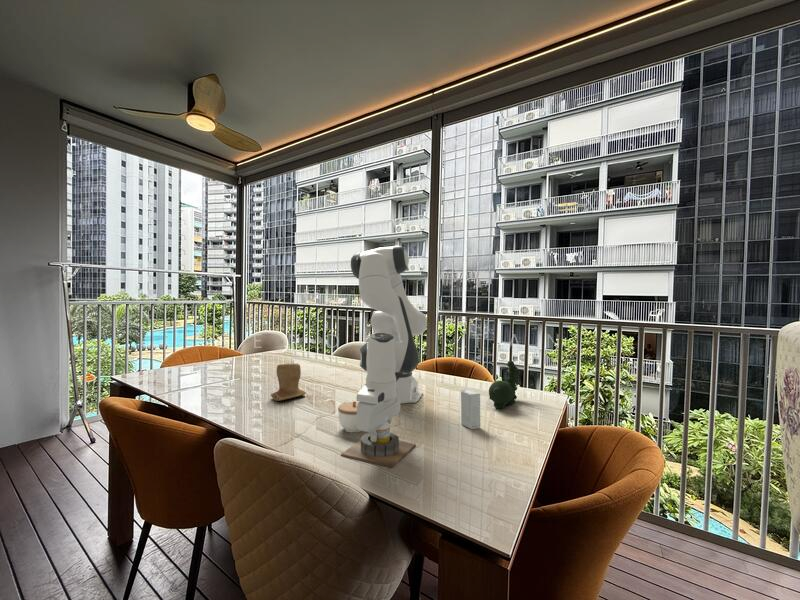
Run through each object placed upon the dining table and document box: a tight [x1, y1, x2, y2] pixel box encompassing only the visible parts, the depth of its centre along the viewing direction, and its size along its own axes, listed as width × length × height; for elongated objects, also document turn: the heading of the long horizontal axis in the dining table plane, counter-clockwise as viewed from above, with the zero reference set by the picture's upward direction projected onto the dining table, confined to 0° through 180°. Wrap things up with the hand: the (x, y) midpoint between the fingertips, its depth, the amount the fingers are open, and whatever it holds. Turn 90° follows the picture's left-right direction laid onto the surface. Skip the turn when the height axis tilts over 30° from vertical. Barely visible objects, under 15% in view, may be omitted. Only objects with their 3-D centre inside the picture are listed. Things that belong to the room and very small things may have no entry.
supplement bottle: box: [371, 416, 391, 443], centre depth 109 cm, size 5×5×10 cm
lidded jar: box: [337, 400, 361, 433], centre depth 126 cm, size 11×11×9 cm
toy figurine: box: [488, 360, 519, 410], centre depth 157 cm, size 9×19×25 cm
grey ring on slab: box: [340, 432, 417, 469], centre depth 109 cm, size 16×16×4 cm
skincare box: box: [460, 389, 481, 430], centre depth 131 cm, size 6×4×12 cm
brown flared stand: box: [270, 363, 307, 402], centre depth 162 cm, size 15×12×15 cm
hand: (380, 436), depth 109 cm, fingers closed on supplement bottle, 5 cm apart
